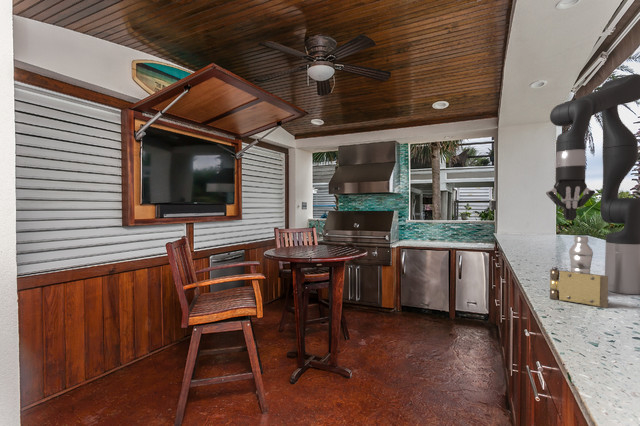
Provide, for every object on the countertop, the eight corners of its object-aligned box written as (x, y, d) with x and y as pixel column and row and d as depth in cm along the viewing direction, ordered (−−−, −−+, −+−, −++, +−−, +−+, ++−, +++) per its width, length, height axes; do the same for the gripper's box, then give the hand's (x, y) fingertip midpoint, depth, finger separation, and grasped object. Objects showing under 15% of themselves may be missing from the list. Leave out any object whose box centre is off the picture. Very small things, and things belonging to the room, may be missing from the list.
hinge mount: (553, 294, 111) (553, 264, 111) (608, 303, 102) (609, 270, 101) (549, 298, 106) (549, 267, 106) (607, 308, 96) (608, 274, 96)
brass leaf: (548, 297, 105) (549, 270, 105) (550, 295, 108) (551, 268, 107) (599, 306, 97) (600, 276, 97) (600, 304, 99) (600, 274, 99)
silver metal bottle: (586, 293, 113) (588, 235, 113) (595, 298, 107) (597, 237, 106) (564, 291, 115) (565, 235, 115) (572, 296, 109) (573, 236, 108)
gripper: (588, 165, 104) (588, 219, 105) (541, 167, 108) (541, 219, 109) (602, 163, 97) (601, 221, 98) (551, 165, 101) (550, 221, 101)
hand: (569, 220), depth 103 cm, fingers closed
